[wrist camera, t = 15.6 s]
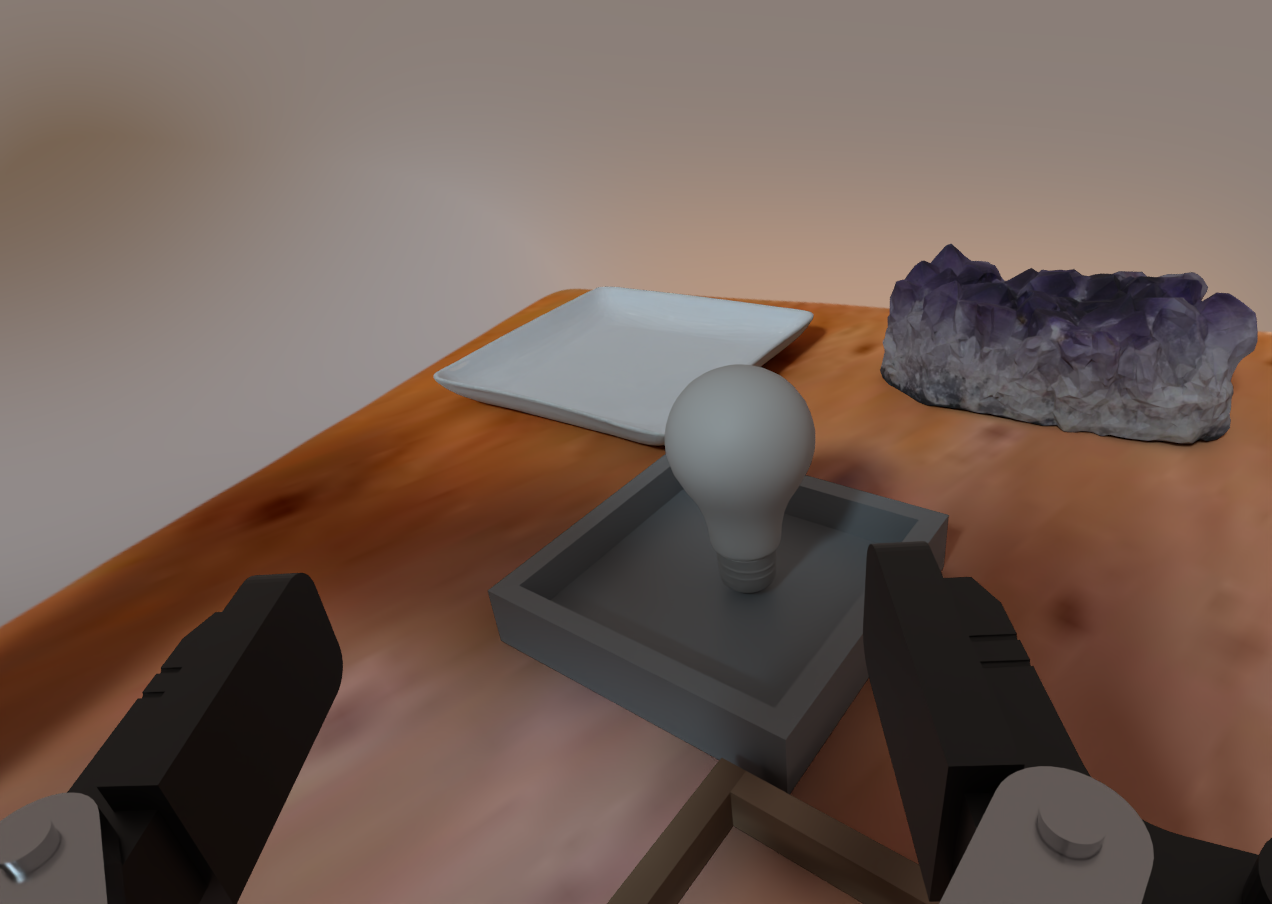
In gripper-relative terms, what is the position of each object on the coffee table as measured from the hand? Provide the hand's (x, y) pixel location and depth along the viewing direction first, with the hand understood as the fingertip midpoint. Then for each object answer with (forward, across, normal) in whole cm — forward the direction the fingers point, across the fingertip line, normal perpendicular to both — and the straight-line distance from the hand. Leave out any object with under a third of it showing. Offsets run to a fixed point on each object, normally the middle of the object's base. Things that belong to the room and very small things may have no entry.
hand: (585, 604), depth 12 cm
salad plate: (+46, +4, +19) cm, 50 cm away
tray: (+20, -2, +18) cm, 27 cm away
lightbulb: (+20, -3, +17) cm, 26 cm away
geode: (+38, -23, +18) cm, 48 cm away
